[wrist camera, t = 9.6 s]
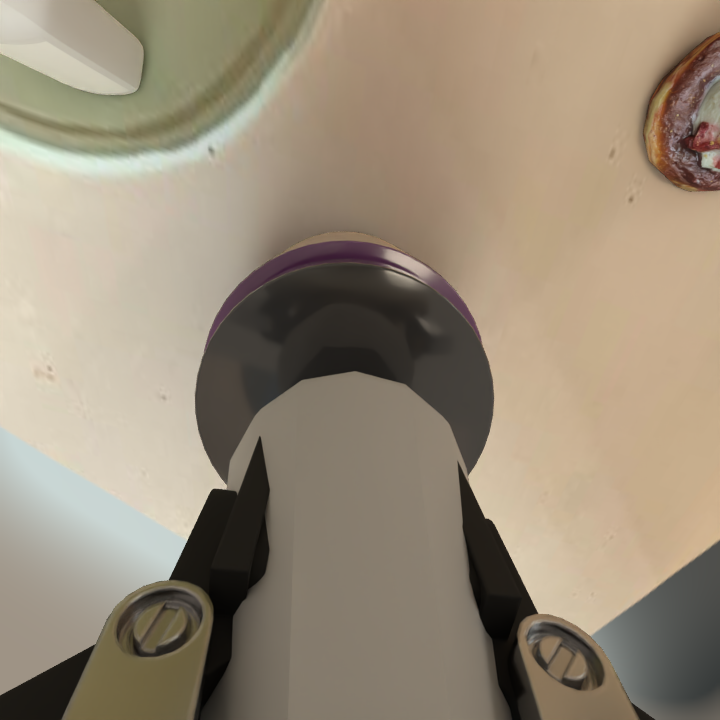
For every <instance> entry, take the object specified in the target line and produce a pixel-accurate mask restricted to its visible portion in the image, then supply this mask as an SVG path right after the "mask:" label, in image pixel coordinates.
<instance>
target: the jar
mask: <svg viewBox="0 0 720 720" xmlns="http://www.w3.org/2000/svg"><path fill="white" fill-rule="evenodd" d="M353 371H356V372H360V373H364V374H368V375H372V376H375V377H379V378H383V379H387V380H391V381H395V382H398V383H402V384H406V385H407V386H408V387H409V388H410V389H411V390H413V391H414V392H415V393H416V394H417V395H418V396H420V397H421V398H422V399H423V400H424V401H425V402H427V403H428V404H429V405H430V406H431V407H432V408H434V409H435V410H436V411H437V412H438V413H439V414H441V415H442V416H443V417H444V419H445V420H446V421H447V422H448V423H449V424H450V427H451V430H452V432H453V435H454V437H455V440H456V443H457V445H458V448H459V450H460V453H461V455H462V458H463V461H464V463H465V466H466V468H467V474H468V475H469V474H470V472H471V471H472V469H473V468H474V466H475V465H476V463H477V461H478V459H479V457H480V455H481V453H482V451H483V449H484V446H485V444H486V441H487V438H488V435H489V432H490V427H491V422H492V417H493V406H494V390H493V379H492V374H491V370H490V365H489V361H488V359H487V356H486V353H485V351H484V348H483V345H482V341H481V336H480V334H479V331H478V328H477V326H476V323H475V321H474V318H473V317H472V315H471V313H470V311H469V309H468V308H467V306H466V304H465V303H464V301H463V300H462V299H461V297H460V296H459V295H458V293H457V292H456V291H455V289H454V288H453V287H452V286H451V285H450V284H449V283H448V282H447V281H446V280H445V279H444V278H443V277H442V276H441V275H439V274H438V273H437V272H435V271H434V270H433V269H431V268H430V267H429V266H427V265H426V264H425V263H423V262H421V261H420V260H418V259H416V258H414V257H413V256H411V255H409V254H408V253H406V252H404V251H403V250H401V249H399V248H397V247H396V246H394V245H392V244H390V243H388V242H387V241H385V240H382V239H380V238H377V237H375V236H372V235H368V234H364V233H359V232H349V231H340V232H329V233H323V234H319V235H316V236H312V237H309V238H307V239H305V240H302V241H300V242H298V243H296V244H294V245H293V246H291V247H290V248H288V249H287V250H285V251H283V252H282V253H280V254H279V255H277V256H276V257H274V258H272V259H271V260H269V261H268V262H266V263H265V264H263V265H262V266H260V267H259V268H257V269H256V270H254V271H253V272H252V273H251V274H250V275H249V276H248V277H246V278H245V279H244V280H243V281H242V282H241V283H240V284H239V285H238V286H237V287H236V288H235V289H234V291H233V292H232V293H231V294H230V295H229V297H228V298H227V299H226V301H225V302H224V304H223V305H222V307H221V309H220V310H219V312H218V313H217V315H216V318H215V320H214V322H213V324H212V327H211V329H210V331H209V335H208V338H207V342H206V345H205V349H204V355H203V357H202V360H201V364H200V367H199V371H198V375H197V382H196V390H195V413H196V419H197V425H198V430H199V434H200V437H201V440H202V443H203V446H204V449H205V451H206V453H207V455H208V457H209V459H210V461H211V463H212V465H213V466H214V468H215V470H216V471H217V473H218V474H219V476H220V477H221V479H222V480H223V481H224V482H225V483H226V484H227V482H228V474H229V465H230V460H231V458H232V456H233V454H234V453H235V451H236V449H237V447H238V445H239V443H240V442H241V440H242V438H243V436H244V434H245V433H246V431H247V429H248V427H249V425H250V423H251V422H252V420H253V418H254V416H255V415H256V414H257V413H258V412H259V411H260V409H261V408H263V407H264V406H266V405H267V404H269V403H270V402H271V401H273V400H274V399H276V398H277V397H279V396H280V395H281V394H283V393H284V392H286V391H287V390H289V389H290V388H291V387H293V386H294V385H296V384H297V383H299V382H300V381H301V380H305V379H311V378H317V377H323V376H329V375H335V374H341V373H347V372H353Z"/></svg>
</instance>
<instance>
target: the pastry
mask: <svg viewBox="0 0 720 720" xmlns="http://www.w3.org/2000/svg"><path fill="white" fill-rule="evenodd" d="M643 136H644V140H645V144H646V149H647V153H648V157H649V161H650V162H651V163H652V164H653V165H654V166H655V167H656V168H657V169H658V170H659V171H660V172H661V173H663V174H664V175H665V176H666V177H667V178H668V179H669V180H670V181H671V182H673V183H674V184H675V185H676V186H677V187H679V188H682V189H685V190H688V191H690V192H691V191H716V190H720V32H718V33H716V34H714V35H712V36H710V37H708V38H706V39H705V40H704V41H703V42H702V43H700V44H699V45H698V46H697V47H696V48H695V49H693V50H692V51H691V52H690V53H689V54H688V55H687V56H686V57H685V58H684V59H683V60H682V61H681V62H680V63H679V64H678V65H677V66H675V67H674V68H673V69H672V70H671V71H670V72H669V73H668V74H667V75H666V76H665V77H664V78H663V79H662V81H661V83H660V84H659V86H658V88H657V89H656V91H655V93H654V94H653V96H652V98H651V99H650V104H649V108H648V113H647V117H646V122H645V127H644V131H643Z"/></svg>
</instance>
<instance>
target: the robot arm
mask: <svg viewBox="0 0 720 720" xmlns="http://www.w3.org/2000/svg"><path fill="white" fill-rule="evenodd" d="M457 463H458V474H459V485H460V496H461V507H462V518H463V525H462V528H463V532H464V536H465V540H466V546H467V550H468V560H469V570H470V571H469V579H470V583H471V585H472V590H473V593H474V597H475V600H476V603H477V606H478V609H479V614H480V619H481V621H482V623H483V626H484V628H485V630H486V632H487V633H488V635H489V636H490V637H491V638H492V643H493V650H494V657H495V664H496V671H497V679H498V685H499V687H500V689H501V691H502V693H503V695H504V697H505V699H506V701H507V703H508V705H509V707H510V711H511V717H512V720H655V719H653V718H652V717H651V716H649V715H648V714H646V713H645V712H644V711H642V710H641V709H639V708H638V707H637V706H635V705H634V704H633V703H631V701H630V699H629V697H628V696H627V693H626V692H625V690H624V688H623V686H622V684H621V682H620V680H619V678H618V676H617V674H616V672H615V670H614V668H613V666H612V664H611V662H610V660H609V659H608V657H607V656H606V654H605V653H604V651H603V650H602V648H601V647H600V646H599V645H598V644H597V643H596V642H595V641H594V640H593V639H592V638H591V637H590V636H589V635H588V634H587V633H585V632H584V631H583V630H581V629H580V628H579V627H577V626H576V625H574V624H572V623H570V622H568V621H566V620H564V619H562V618H559V617H556V616H552V615H549V614H538V612H537V610H536V608H535V606H534V604H533V602H532V600H531V598H530V596H529V594H528V592H527V590H526V588H525V586H524V584H523V582H522V580H521V578H520V576H519V574H518V572H517V569H516V567H515V565H514V563H513V561H512V559H511V557H510V555H509V553H508V551H507V549H506V547H505V545H504V543H503V541H502V539H501V537H500V535H499V533H498V531H497V529H496V527H495V525H494V524H493V522H492V521H491V520H489V519H485V517H484V515H483V513H482V511H481V509H480V506H479V504H478V502H477V500H476V498H475V496H474V494H473V492H472V489H471V487H470V485H469V483H468V481H467V479H466V477H465V475H464V473H463V470H462V468H461V466H460V464H459V462H458V460H457ZM269 492H270V487H269V481H268V476H267V470H266V464H265V458H264V452H263V446H262V441H261V437H260V436H259V438H258V441H257V444H256V446H255V449H254V452H253V455H252V457H251V460H250V463H249V465H248V468H247V471H246V473H245V476H244V479H243V482H242V484H241V487H240V490H239V492H238V495H237V492H236V491H232V490H223V489H213V490H212V491H211V492H210V494H209V496H208V498H207V500H206V503H205V505H204V507H203V509H202V511H201V513H200V515H199V517H198V519H197V522H196V524H195V526H194V528H193V530H192V532H191V534H190V536H189V539H188V541H187V543H186V545H185V547H184V549H183V551H182V553H181V556H180V558H179V560H178V562H177V564H176V566H175V568H174V570H173V572H172V575H171V577H170V579H169V580H167V581H159V582H155V583H152V584H149V585H146V586H143V587H141V588H139V589H138V590H136V591H134V592H132V593H131V594H129V595H128V596H126V597H125V598H124V599H123V600H122V601H121V602H120V603H119V604H118V605H117V606H116V607H115V608H114V610H113V611H112V613H111V614H110V616H109V617H108V619H107V621H106V623H105V625H104V627H103V629H102V632H101V634H100V636H99V638H98V640H97V643H96V644H95V645H93V646H91V647H89V648H88V649H86V650H84V651H82V652H80V653H78V654H77V655H75V656H73V657H71V658H69V659H67V660H65V661H64V662H62V663H60V664H58V665H56V666H54V667H52V668H50V669H49V670H47V671H45V672H43V673H41V674H39V675H37V676H36V677H34V678H32V679H30V680H28V681H26V682H25V683H23V684H21V685H19V686H17V687H15V688H13V689H12V690H10V691H8V692H6V693H4V694H2V695H0V720H200V717H201V710H202V709H203V707H204V706H205V704H206V702H207V701H208V699H209V698H210V696H211V694H212V693H213V691H214V689H215V688H216V686H217V685H218V683H219V681H220V680H221V678H222V677H223V675H224V673H225V671H226V669H227V666H228V664H229V662H230V660H231V658H232V631H233V616H234V614H235V613H236V611H237V609H238V608H239V606H240V605H241V603H242V601H244V600H245V599H246V597H247V592H248V589H250V588H251V587H252V586H254V585H255V584H256V583H257V582H258V581H259V580H260V579H261V578H262V577H263V576H264V574H265V571H266V566H267V561H268V556H269V551H270V548H269V541H268V534H267V527H266V520H265V510H266V506H267V501H268V497H269Z"/></svg>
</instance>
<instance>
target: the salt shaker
mask: <svg viewBox="0 0 720 720" xmlns="http://www.w3.org/2000/svg"><path fill="white" fill-rule="evenodd" d="M259 436H260V437H261V441H262V446H263V452H264V458H265V464H266V470H267V476H268V481H269V487H270V492H269V497H268V501H267V506H266V510H265V520H266V527H267V534H268V541H269V548H270V551H269V556H268V561H267V566H266V571H265V574H264V576H263V577H262V578H261V579H260V580H259V581H258V582H257V583H256V584H255V585H254V586H252V587H251V588H250V589H248V592H247V597H246V599H245V600H244V601H242V603H241V605H240V606H239V608H238V609H237V611H236V613H235V614H234V616H233V631H232V658H231V660H230V662H229V664H228V666H227V669H226V671H225V673H224V675H223V677H222V678H221V680H220V681H219V683H218V685H217V686H216V688H215V689H214V691H213V693H212V694H211V696H210V698H209V699H208V701H207V702H206V704H205V706H204V707H203V709H202V710H201V717H200V720H512V717H511V711H510V707H509V705H508V703H507V701H506V699H505V697H504V695H503V693H502V691H501V689H500V687H499V685H498V679H497V671H496V664H495V657H494V650H493V643H492V638H491V637H490V636H489V635H488V633H487V632H486V630H485V628H484V626H483V623H482V621H481V619H480V614H479V609H478V606H477V603H476V600H475V597H474V593H473V590H472V585H471V583H470V579H469V571H470V570H469V560H468V550H467V546H466V540H465V536H464V532H463V528H462V525H463V518H462V507H461V496H460V485H459V474H458V463H457V460H458V462H459V464H460V466H461V468H462V470H463V473H464V475H465V477H466V479H467V481H468V483H469V479H468V474H467V468H466V466H465V463H464V461H463V458H462V455H461V453H460V450H459V448H458V445H457V443H456V440H455V437H454V435H453V432H452V430H451V427H450V424H449V423H448V422H447V421H446V420H445V419H444V417H443V416H442V415H441V414H439V413H438V412H437V411H436V410H435V409H434V408H432V407H431V406H430V405H429V404H428V403H427V402H425V401H424V400H423V399H422V398H421V397H420V396H418V395H417V394H416V393H415V392H414V391H413V390H411V389H410V388H409V387H408V386H407V385H406V384H402V383H398V382H395V381H391V380H387V379H383V378H379V377H375V376H372V375H368V374H364V373H360V372H356V371H353V372H347V373H341V374H335V375H329V376H323V377H317V378H311V379H305V380H301V381H300V382H299V383H297V384H296V385H294V386H293V387H291V388H290V389H289V390H287V391H286V392H284V393H283V394H281V395H280V396H279V397H277V398H276V399H274V400H273V401H271V402H270V403H269V404H267V405H266V406H264V407H263V408H261V409H260V411H259V412H258V413H257V414H256V415H255V416H254V418H253V420H252V422H251V423H250V425H249V427H248V429H247V431H246V433H245V434H244V436H243V438H242V440H241V442H240V443H239V445H238V447H237V449H236V451H235V453H234V454H233V456H232V458H231V460H230V465H229V474H228V482H227V490H232V491H236V492H237V495H238V492H239V490H240V487H241V484H242V482H243V479H244V476H245V473H246V471H247V468H248V465H249V463H250V460H251V457H252V455H253V452H254V449H255V446H256V444H257V441H258V438H259Z"/></svg>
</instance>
